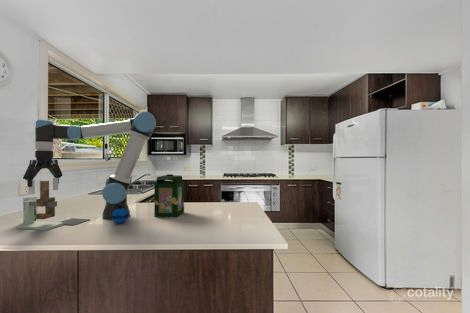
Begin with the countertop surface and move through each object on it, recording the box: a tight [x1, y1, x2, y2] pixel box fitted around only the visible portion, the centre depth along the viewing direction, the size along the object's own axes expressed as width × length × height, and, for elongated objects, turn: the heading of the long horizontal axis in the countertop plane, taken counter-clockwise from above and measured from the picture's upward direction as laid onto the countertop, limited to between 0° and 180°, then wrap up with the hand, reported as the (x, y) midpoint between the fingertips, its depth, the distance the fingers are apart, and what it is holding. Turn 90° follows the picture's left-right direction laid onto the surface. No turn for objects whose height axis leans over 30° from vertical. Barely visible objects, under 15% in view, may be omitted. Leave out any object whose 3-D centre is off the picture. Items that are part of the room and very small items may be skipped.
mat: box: [59, 217, 91, 227], centre depth 145 cm, size 12×12×1 cm
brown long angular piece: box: [36, 180, 56, 220], centre depth 135 cm, size 4×7×19 cm, turn 169°
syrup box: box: [22, 194, 39, 224], centre depth 144 cm, size 6×6×14 cm
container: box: [153, 173, 185, 219], centre depth 164 cm, size 15×18×25 cm
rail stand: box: [16, 200, 65, 231], centre depth 136 cm, size 18×10×13 cm, turn 79°
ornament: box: [111, 205, 130, 225], centre depth 143 cm, size 9×9×10 cm
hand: (44, 191), depth 134 cm, fingers open, 13 cm apart
